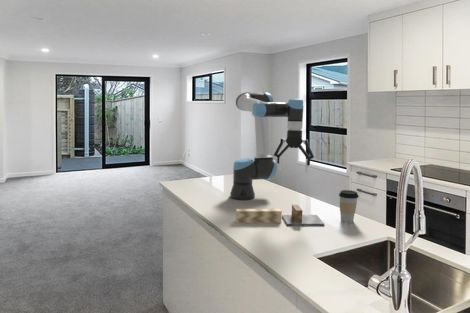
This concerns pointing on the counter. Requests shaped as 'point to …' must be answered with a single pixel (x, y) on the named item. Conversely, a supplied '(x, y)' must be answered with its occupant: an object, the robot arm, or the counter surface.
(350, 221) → the coffee cup
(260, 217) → the beech bar
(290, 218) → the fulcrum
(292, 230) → the counter surface
